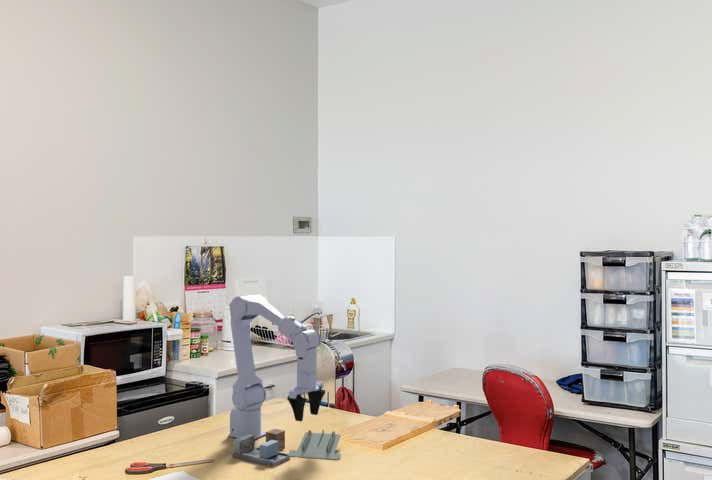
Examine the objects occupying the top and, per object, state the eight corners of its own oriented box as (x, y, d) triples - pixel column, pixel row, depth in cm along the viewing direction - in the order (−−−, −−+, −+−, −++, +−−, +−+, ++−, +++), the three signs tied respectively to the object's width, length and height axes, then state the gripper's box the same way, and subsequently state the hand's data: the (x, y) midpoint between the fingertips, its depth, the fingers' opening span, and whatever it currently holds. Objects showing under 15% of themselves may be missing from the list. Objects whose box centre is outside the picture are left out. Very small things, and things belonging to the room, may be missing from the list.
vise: (231, 457, 192) (231, 440, 192) (249, 449, 198) (249, 433, 198) (273, 467, 184) (273, 449, 184) (290, 458, 190) (289, 441, 190)
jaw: (259, 457, 188) (259, 444, 188) (271, 451, 192) (271, 439, 192) (266, 458, 186) (266, 446, 186) (278, 453, 191) (278, 441, 191)
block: (265, 448, 199) (265, 432, 199) (274, 445, 202) (274, 428, 202) (276, 451, 197) (276, 434, 197) (284, 447, 200) (284, 430, 200)
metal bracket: (299, 425, 204) (347, 427, 201) (300, 441, 205) (348, 444, 202) (285, 453, 190) (337, 457, 187) (287, 471, 192) (338, 474, 189)
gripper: (303, 377, 188) (302, 426, 189) (331, 368, 201) (331, 413, 201) (283, 374, 192) (283, 422, 192) (312, 365, 204) (312, 410, 205)
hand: (306, 417), depth 197 cm, fingers open, 7 cm apart
